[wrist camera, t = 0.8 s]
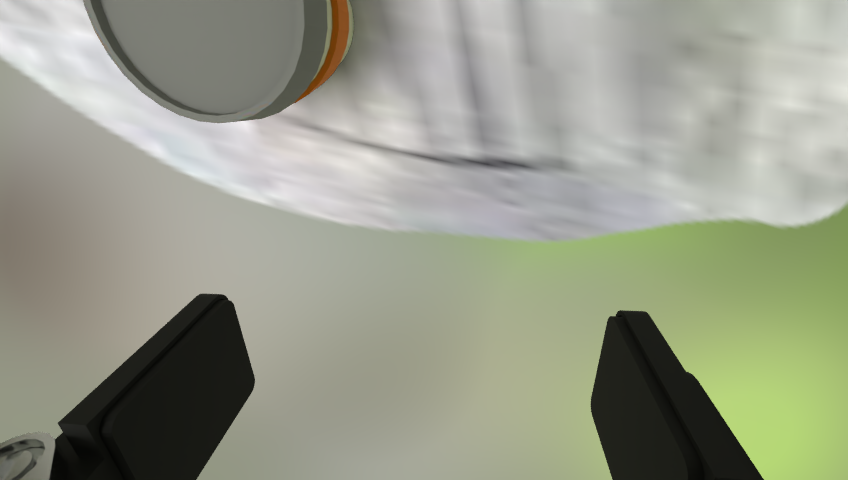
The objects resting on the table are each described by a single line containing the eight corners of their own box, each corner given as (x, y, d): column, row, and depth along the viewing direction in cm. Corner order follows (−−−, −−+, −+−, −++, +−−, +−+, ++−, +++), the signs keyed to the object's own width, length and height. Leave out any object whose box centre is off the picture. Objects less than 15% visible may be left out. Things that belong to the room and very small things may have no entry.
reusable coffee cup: (351, 120, 37) (282, 161, 24) (220, 66, 36) (72, 77, 23) (395, -32, 32) (338, -91, 18) (243, -100, 31) (65, -214, 17)
